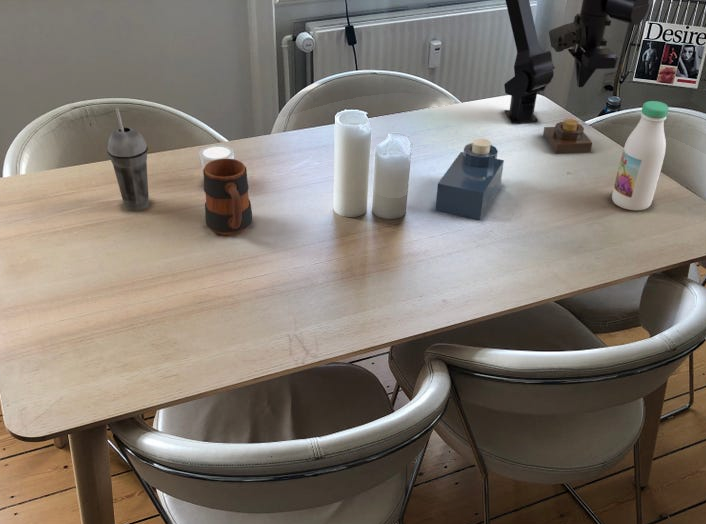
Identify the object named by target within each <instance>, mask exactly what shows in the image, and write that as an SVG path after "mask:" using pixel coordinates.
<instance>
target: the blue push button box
mask: <svg viewBox="0 0 706 524" xmlns="http://www.w3.org/2000/svg"><path fill="white" fill-rule="evenodd" d="M498 153H499V151H498V148H497V147H495V146H494V145H492V144H491V147H490V153H489V154H481V155H480V154H475V153H473V152H472V142H471V143H469V144H466V145H465V146H464V147H463V151H460V152H459V154H458V155H457V157H456V158H455V159H454V160H453V162H452V163H451V164H450V166H449V168H447V170H446V172H444V174H443V176H442V177H441V179H440V180H439V181H438V182H437V189H436V200H435V209H434V210H435V211H436V212H441V213H446V214H450V215H454V216H459V217H464V218H468V219H472V220H473V219H474V220H476V221H477V220H478V221H481V220H482V218H483V216H484V215H485V213H486V211H487V210H488V207H489V206H490V204H491V203H492V201H493V199H494V197H495V196H496V194H497V192H498V191H499V190H500V188H501V182H502V177H503V170H504V163H505V159H499V158H498Z"/></svg>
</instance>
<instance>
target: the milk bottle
mask: <svg viewBox="0 0 706 524" xmlns="http://www.w3.org/2000/svg"><path fill="white" fill-rule="evenodd" d="M669 111H670V110H669V105H667V104H666V103H664V102H662V101H658V100H657V101H656V100H648V101H646V102H644V103H643V105H642V107H641V112H640V116H641V117H640V120H639V122H638V123H637V125H636V126H635V128H634V129H633V130H632V131H631V133H630V134H629V135H628V137H627V139H626V141H625V144H624V147H623V151H622V154H621V157H620V162H619V165H618V169H617V174H616V178H615V181H614V186H613V190H612V194H611V199H612V202H613V203H614V204H615V205H616V206H618V207H620V208H621V209H624V210H629V211H644V210H646V209H648V208H650V206H651V205H652V203H653V199H654V197H655V194H656V189H657V186H658V182H659V178H660V175H661V171H662V168H663V164H664V159H665V155H666V149H667V140H666V134H665V127H664V126H665V125H664V124H665V120H667V116H668V114H669Z"/></svg>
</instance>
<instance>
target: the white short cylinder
mask: <svg viewBox="0 0 706 524" xmlns="http://www.w3.org/2000/svg"><path fill="white" fill-rule="evenodd" d="M471 143H472V152H473V153H475V154H480V155H481V154H489V153H490V147H491V145H492V142H491V141H490V140H489V139H487V138H484V137H483V138H482V137H480V138H474V139H473V140H472V142H471Z"/></svg>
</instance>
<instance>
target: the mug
mask: <svg viewBox="0 0 706 524" xmlns="http://www.w3.org/2000/svg"><path fill="white" fill-rule="evenodd" d="M202 174H203V191H204V193H205V203H204V217H205V224H206V226H207V227H208V228H209V229H210V230H211V231H212V232H213V233H215V234H217V235H222V236H234V235H239V234H242V233H245V232H246V231H247V230H248V229H249V228H250V226H251V224H252V223H253V209H252V204H251V200H250V197H249V189H250V187H249V181H248V180H249V179H248V172H247V166H246V165H245V164H244V162H242V161H240V160H238V159H235V158H234V159H217V160H213V161H211V162H209V163H208V164H206V166H205V167H204V169H202Z"/></svg>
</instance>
